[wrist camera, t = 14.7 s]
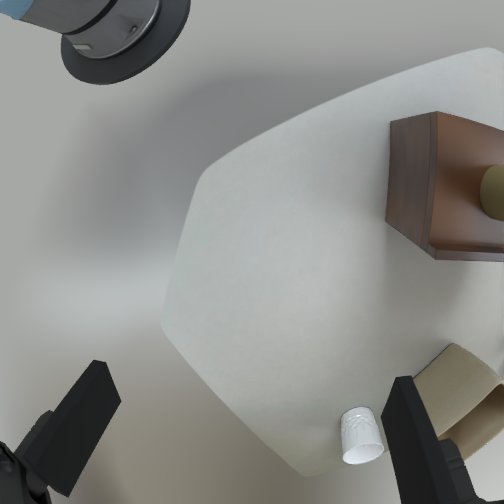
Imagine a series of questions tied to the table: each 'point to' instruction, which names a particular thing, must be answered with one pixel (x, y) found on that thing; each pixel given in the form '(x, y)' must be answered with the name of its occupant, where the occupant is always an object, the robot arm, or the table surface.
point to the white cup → (360, 436)
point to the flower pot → (462, 399)
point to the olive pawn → (493, 192)
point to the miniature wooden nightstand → (444, 186)
